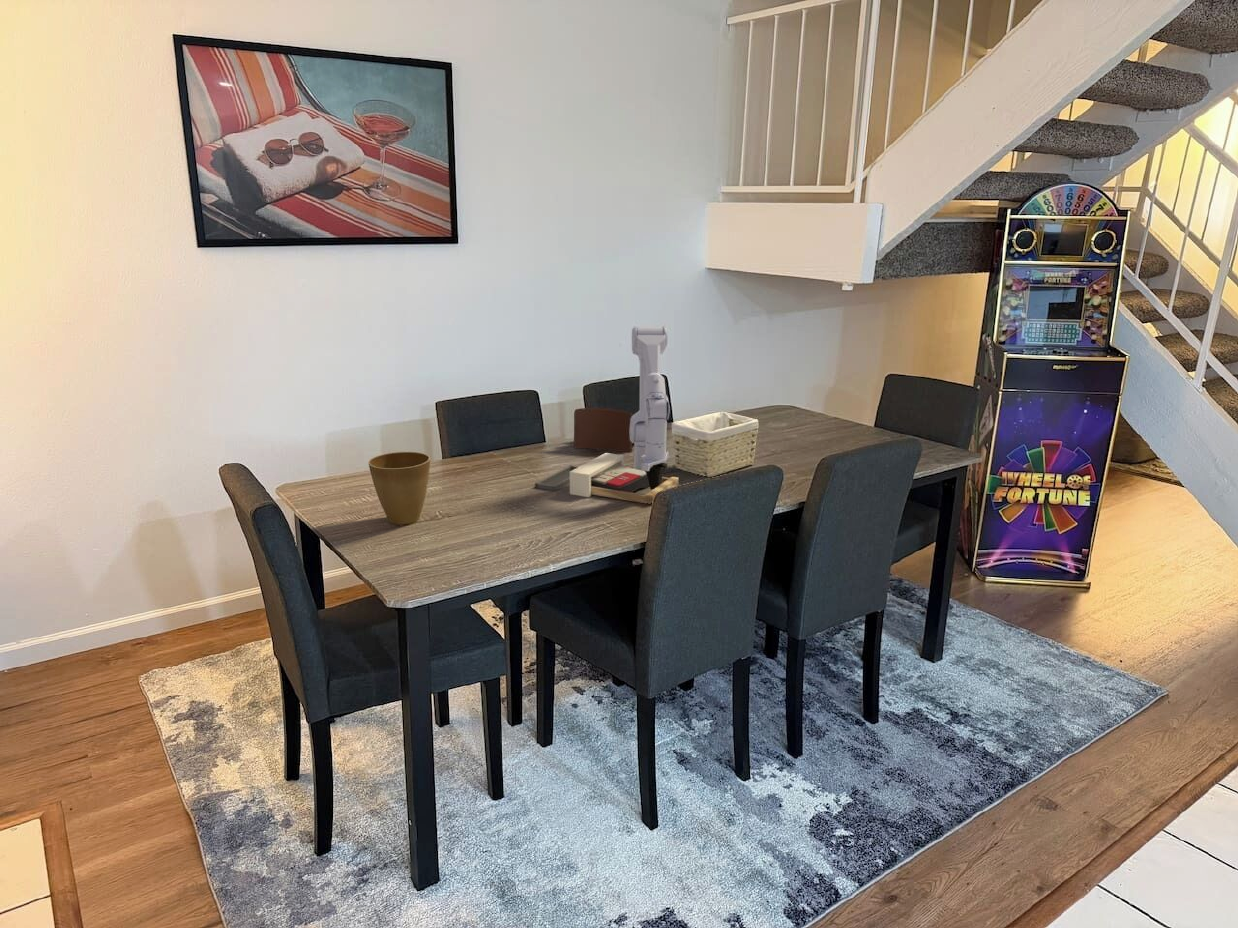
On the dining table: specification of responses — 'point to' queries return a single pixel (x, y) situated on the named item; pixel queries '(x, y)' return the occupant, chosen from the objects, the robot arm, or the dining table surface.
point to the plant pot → (401, 484)
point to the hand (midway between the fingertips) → (654, 489)
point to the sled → (634, 496)
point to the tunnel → (581, 475)
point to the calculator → (621, 479)
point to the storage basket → (714, 443)
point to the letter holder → (602, 429)
